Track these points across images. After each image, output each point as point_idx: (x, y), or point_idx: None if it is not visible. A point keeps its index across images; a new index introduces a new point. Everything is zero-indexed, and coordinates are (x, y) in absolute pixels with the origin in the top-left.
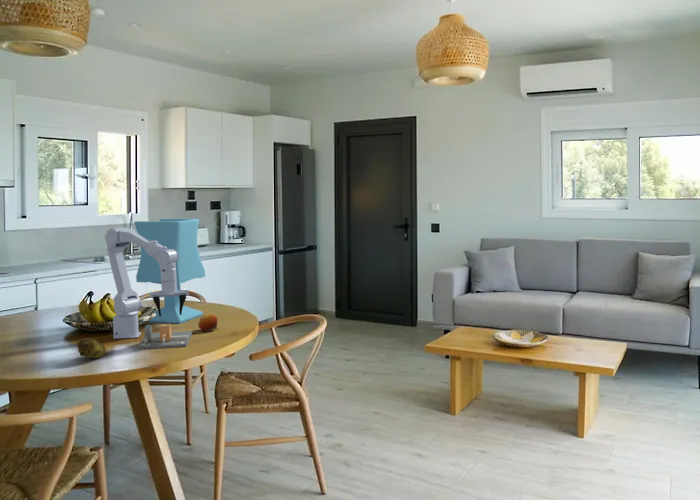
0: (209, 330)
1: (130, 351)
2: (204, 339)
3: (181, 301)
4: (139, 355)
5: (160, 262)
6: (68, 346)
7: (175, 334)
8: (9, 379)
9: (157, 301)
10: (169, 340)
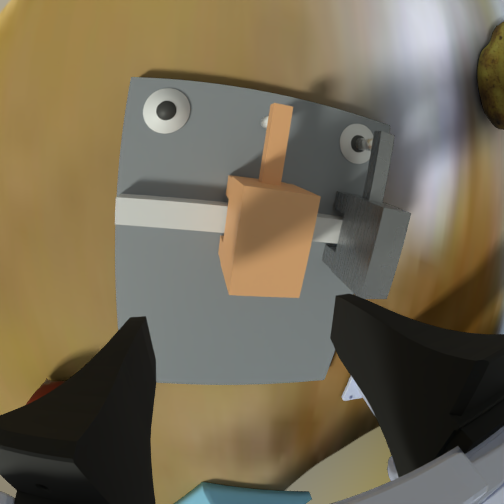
0: (57, 381)
1: (408, 95)
2: (43, 234)
3: (73, 409)
4: (369, 7)
5: None
6: None
7: (200, 336)
8: None
9: (481, 346)
10: (231, 175)
